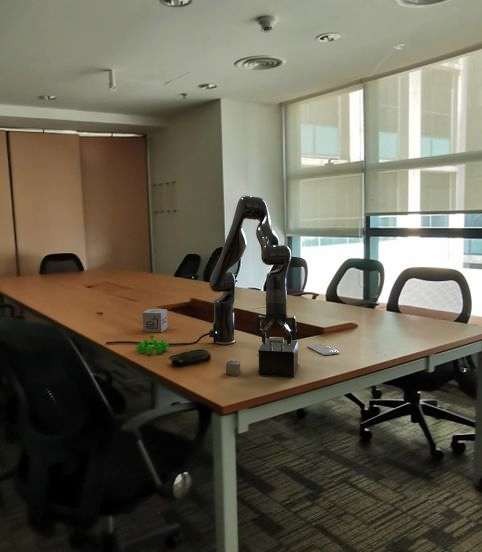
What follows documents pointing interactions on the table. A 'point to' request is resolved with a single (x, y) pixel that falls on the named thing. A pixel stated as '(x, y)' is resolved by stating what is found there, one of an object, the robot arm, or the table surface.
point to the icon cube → (155, 320)
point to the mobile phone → (323, 349)
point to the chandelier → (152, 346)
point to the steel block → (233, 368)
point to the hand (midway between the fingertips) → (276, 344)
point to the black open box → (278, 364)
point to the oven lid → (278, 346)
